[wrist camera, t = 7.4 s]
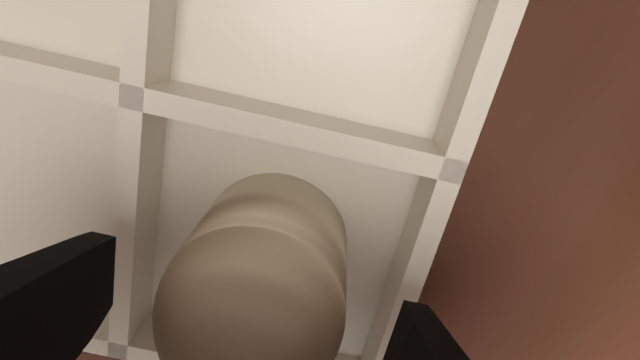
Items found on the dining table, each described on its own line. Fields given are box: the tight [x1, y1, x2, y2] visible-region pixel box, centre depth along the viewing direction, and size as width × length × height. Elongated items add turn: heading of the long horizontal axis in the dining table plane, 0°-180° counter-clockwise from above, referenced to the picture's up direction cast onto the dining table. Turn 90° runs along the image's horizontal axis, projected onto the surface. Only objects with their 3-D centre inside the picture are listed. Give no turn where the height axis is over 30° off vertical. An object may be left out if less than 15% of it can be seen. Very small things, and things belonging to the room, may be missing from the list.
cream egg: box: [152, 173, 346, 360], centre depth 10 cm, size 4×4×6 cm
